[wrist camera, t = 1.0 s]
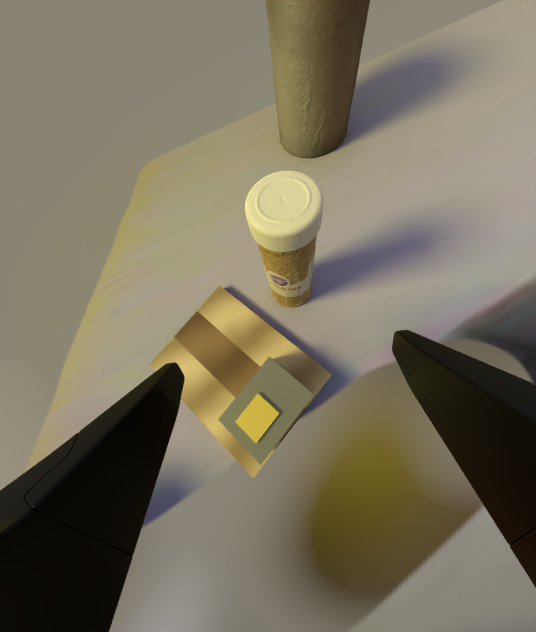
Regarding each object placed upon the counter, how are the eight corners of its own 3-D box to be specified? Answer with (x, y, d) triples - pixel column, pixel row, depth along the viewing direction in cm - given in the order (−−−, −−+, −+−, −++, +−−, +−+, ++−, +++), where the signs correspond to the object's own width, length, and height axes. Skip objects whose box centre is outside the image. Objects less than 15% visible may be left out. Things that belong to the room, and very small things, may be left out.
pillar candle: (349, 107, 31) (389, -125, 16) (343, 158, 28) (384, -61, 14) (284, 112, 33) (269, -92, 18) (273, 160, 30) (247, -31, 16)
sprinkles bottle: (269, 305, 24) (234, 230, 12) (276, 270, 25) (252, 165, 13) (308, 311, 23) (318, 236, 11) (314, 274, 24) (329, 167, 12)
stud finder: (312, 391, 20) (314, 395, 17) (266, 451, 19) (260, 466, 16) (273, 358, 22) (268, 356, 18) (229, 413, 21) (216, 420, 18)
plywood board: (330, 374, 21) (331, 374, 20) (255, 473, 20) (253, 478, 19) (222, 288, 26) (219, 285, 25) (155, 364, 24) (149, 364, 24)
